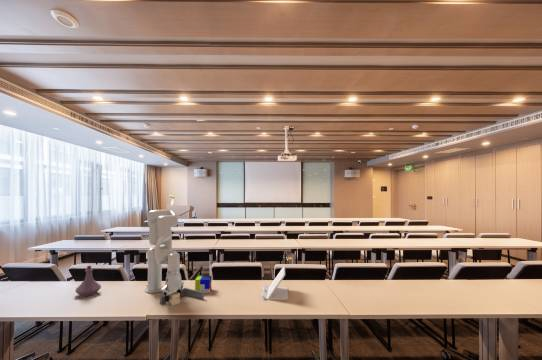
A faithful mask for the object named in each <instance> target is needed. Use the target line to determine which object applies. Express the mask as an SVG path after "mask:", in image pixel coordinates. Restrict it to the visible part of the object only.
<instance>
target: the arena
mask: <svg viewBox="0 0 542 360" xmlns="http://www.w3.org/2000/svg"><path fill="white" fill-rule="evenodd" d="M174 292H177V290H175V291H174ZM183 296H187V297H191V298H194V299H198V300H205V299H204V297H205V293H204V292H201V291H197V290H195V289H192V288H188V287H183V288H182V290H181V297H183ZM163 304H166V301H165V295H164V294H163V295H161V296H159V305H163ZM179 304H181V301H180V303H177V304H175V305H173V306H176V305H179ZM166 305H167V306H170V307H173V306H172V305H169V304H166Z"/></svg>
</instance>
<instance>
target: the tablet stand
mask: <svg viewBox="0 0 542 360" xmlns="http://www.w3.org/2000/svg"><path fill="white" fill-rule="evenodd" d="M285 276H286V266H285V265H283V266H282V268H281V269H280V271H279V272H278V274H277V275H276V276H275V278H274V279H273V281H272V283H271V284H270V285H269V286H268V285H267V284H264V285H263V288H262V294H261V297H262V298H263V299H264V300H266V301H289V290H288V289H289V287H287V286H279V285H280V283H281V282H282V281H283V279H284V277H285Z"/></svg>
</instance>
